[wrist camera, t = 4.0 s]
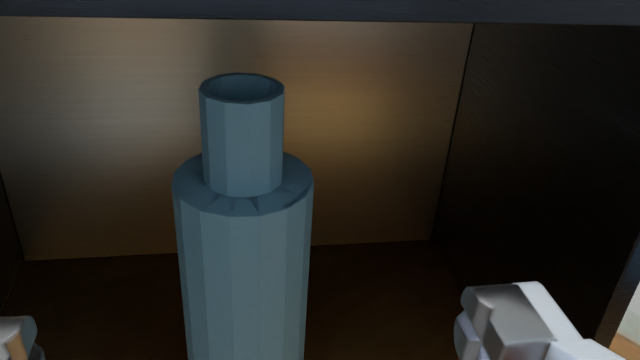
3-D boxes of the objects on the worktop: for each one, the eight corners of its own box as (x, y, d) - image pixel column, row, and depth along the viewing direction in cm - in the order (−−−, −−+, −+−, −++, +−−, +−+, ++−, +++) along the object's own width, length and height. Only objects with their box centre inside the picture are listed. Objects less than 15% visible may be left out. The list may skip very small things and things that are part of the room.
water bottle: (272, 342, 34) (277, 55, 24) (319, 416, 29) (346, 103, 20) (179, 377, 31) (145, 71, 22) (215, 465, 27) (193, 130, 18)
